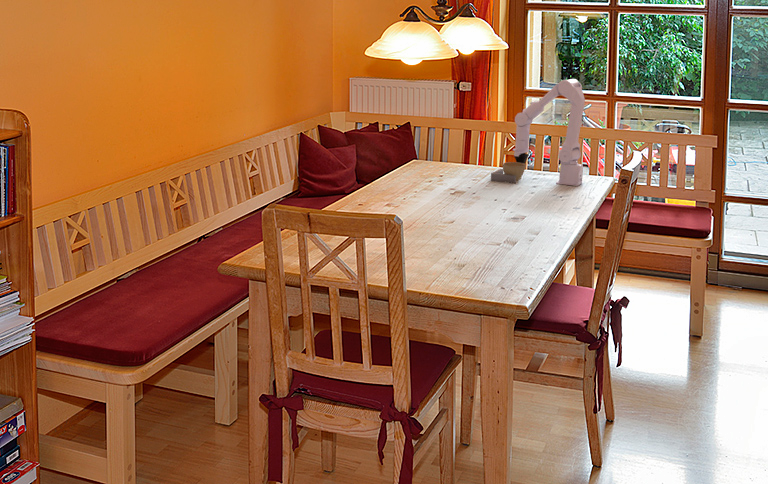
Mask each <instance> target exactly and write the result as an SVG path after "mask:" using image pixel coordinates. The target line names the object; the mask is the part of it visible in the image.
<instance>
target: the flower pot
mask: <svg viewBox="0 0 768 484" xmlns="http://www.w3.org/2000/svg"><path fill="white" fill-rule="evenodd" d="M502 169H503V174H509V175H516V182H518V181H519V182H520V180H521V179H522V177H523V176H524V172H525V169H526V163H525V164H524V163H518V162H516V161H508V162H507V161H506V162H503V163H502Z"/></svg>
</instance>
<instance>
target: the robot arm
mask: <svg viewBox="0 0 768 484" xmlns="http://www.w3.org/2000/svg"><path fill="white" fill-rule="evenodd" d="M582 86H583V85H582V83H580V81H578V79H576V78H571V79H562V80H561V81H559V82H558V83H556V84H555V85H554V86H553V87H552V88H551V89H550V90H548V92H547V93H545V94H544V95H543V97H542V98H541V99H540V100H533V101H531V102H530V103H529V105H528V106H527V107H526V108H524V109H522V112H517V114H516V115H515V117H514V122H515V125H516V132H515V148H513V149H512V151H513V152H514V154H513V157H514V159H515V162H518V163H524V164H526V162H527V160H528V157H529V156H530V155H529V152H530V148H529V143H530V129H531V128H530V127H531V124H532V123H533V121H534V120H535V119H536V118H537V117H538V116H539V115H541V114H542V113H543V112H544V110H545V107H546V106H547V105H548V104H549V103H550V102H552V101H553V100H554V99H556V98H558V97H559V96H562V97H564V98H566V99H567V100H568V101H569V102H570V111H569V117H568V123H567V129H566V135H565V140H564V142H563V144H562V145H561V149H560V150H559V152H558V159H559V161H560V163H559V164H560V166H559V178H558V179H559V180H558V181H556V182H555V183H556V184H557V185H567V186H575V187H578V186H580V185H581V184H583V173H584V165H583V164H580V163H579V161H578V160H579V159H580V158H581V156H582V155H581V154H582V152H581V144H580V142H579V137H580V131H581V125H582V120H583V114H584V107H585V102H586V98H585V96H584V92H583V87H582Z"/></svg>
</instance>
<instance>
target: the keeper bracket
mask: <svg viewBox="0 0 768 484" xmlns="http://www.w3.org/2000/svg"><path fill="white" fill-rule="evenodd" d="M490 182H496V183H504V184H516V183H517V181H516V175H509V174H504V171H503V168H499V169H497V170H495V171H492V172H491V173H490Z"/></svg>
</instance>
